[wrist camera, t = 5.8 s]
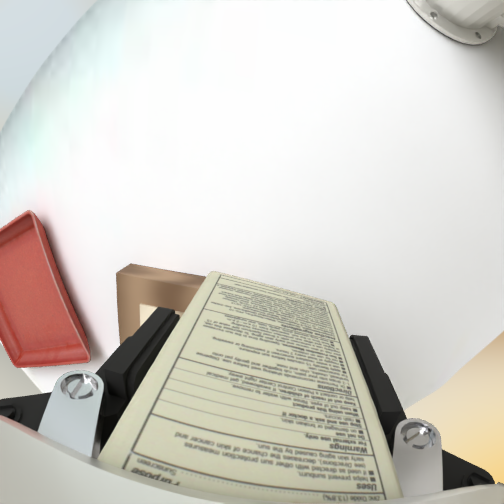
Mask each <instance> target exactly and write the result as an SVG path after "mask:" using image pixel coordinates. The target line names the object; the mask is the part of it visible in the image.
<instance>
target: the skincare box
mask: <svg viewBox="0 0 504 504" xmlns="http://www.w3.org/2000/svg"><path fill="white" fill-rule="evenodd" d="M97 460H100V461H102V462H105V463H107V464H110V465H112V466H115V467H118V468H121V469H123V470H126V471H129V472H132V473H135V474H138V475H141V476H145V477H148V478H151V479H155V480H158V481H162V482H165V483H169V484H173V485H177V486H181V487H185V488H189V489H194V490H199V491H203V492H208V493H214V494H219V495H225V496H231V497H238V498H245V499H254V500H263V501H274V502H288V503H356V502H370V501H380V500H389V499H397V498H404V496H403V492H402V489H401V486H400V483H399V479H398V475H397V472H396V468H395V465H394V462H393V459H392V456H391V453H390V450H389V447H388V444H387V441H386V438H385V434H384V432H383V429H382V426H381V424H380V421H379V418H378V414H377V411H376V408H375V405H374V403H373V400H372V398H371V395H370V392H369V389H368V387H367V384H366V382H365V379H364V376H363V374H362V371H361V368H360V366H359V363H358V361H357V358H356V355H355V353H354V350H353V348H352V345H351V342H350V340H349V337H348V335H347V332H346V330H345V327H344V325H343V323H342V320H341V317H340V315H339V312H338V310H337V308H336V306H335V304H334V303H332V302H329V301H325V300H321V299H318V298H314V297H311V296H308V295H304V294H300V293H297V292H293V291H290V290H286V289H282V288H278V287H275V286H271V285H267V284H263V283H260V282H256V281H252V280H248V279H244V278H240V277H236V276H232V275H228V274H224V273H220V272H216V271H211V272H210V273H209V274H208V276H207V277H206V279H205V280H204V282H203V283H202V285H201V286H200V288H199V290H198V291H197V293H196V294H195V296H194V298H193V299H192V301H191V303H190V304H189V306H188V307H187V309H186V310H185V312H184V314H183V315H182V317H181V318H180V320H179V322H178V323H177V325H176V326H175V328H174V329H173V331H172V333H171V334H170V336H169V338H168V339H167V341H166V342H165V344H164V346H163V347H162V349H161V351H160V352H159V354H158V356H157V358H156V359H155V361H154V363H153V364H152V366H151V367H150V369H149V371H148V372H147V374H146V376H145V377H144V379H143V381H142V383H141V384H140V386H139V388H138V389H137V391H136V393H135V394H134V396H133V398H132V400H131V401H130V403H129V405H128V406H127V408H126V410H125V411H124V413H123V415H122V416H121V418H120V420H119V421H118V423H117V425H116V427H115V429H114V431H113V432H112V434H111V436H110V438H109V439H108V441H107V443H106V444H105V446H104V448H103V449H102V451H101V453H100V455H99V456H98V458H97Z"/></svg>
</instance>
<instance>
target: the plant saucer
mask: <svg viewBox="0 0 504 504" xmlns="http://www.w3.org/2000/svg"><path fill="white" fill-rule="evenodd" d="M0 340H1V342H2V344H3V346H4V348H5V350H6V352H7V354H8V356H9V358H10V360H11V362H12V363H13V365H14V366H15V367H17V368H26V367H43V366H57V365H68V364H69V365H70V364H79V363H88V362H89V361H90V360H91V357H90V349H89V344H88V341H87V337H86V335H85V332H84V330H83V328H82V326H81V324H80V322H79V319H78V317H77V315H76V313H75V310H74V308H73V306H72V304H71V301H70V299H69V297H68V294H67V292H66V289H65V287H64V284H63V282H62V279H61V276H60V274H59V271H58V268H57V266H56V263H55V260H54V257H53V254H52V251H51V249H50V246H49V242H48V239H47V236H46V233H45V230H44V228H43V226H42V224H41V222H40V220H39V219H38V218H37V216H36V215H35V214H34V213H33V212H32V211H31V210H27V211H26V212H24V213H23V214H21V215H20V216H18V217H17V218H15V219H14V220H12V221H11V222H9V223H8V224H7V225H5V226H3V227H2V228H1V229H0Z"/></svg>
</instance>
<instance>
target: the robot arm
mask: <svg viewBox="0 0 504 504" xmlns="http://www.w3.org/2000/svg"><path fill="white" fill-rule="evenodd" d="M407 1H408V2H409V4H410V5H411V6H412V7H413V8H414V10H415V11H416V12H417V13H418V14H419V15H420V16H421V17H422V18H423V19H424V20H425V21H427V22H428V23H429V24H430V25H432V26H433V27H434V28H435V29H437V30H438V31H440V32H441V33H443V34H444V35H446V36H448V37H450V38H452V39H454V40H457V41H459V42H462V43H466V44H471V45H477V44H482V43H485V42H487V41H488V40H490V39H491V38H492V37H493V36H494V35H495V33H496V30H497V26H498V25H499V26H500V27H502V28H504V0H407ZM179 320H180V315H179V314H175V310H174V309H169V308H164V307H157V309H156V310H155V311H154V312H153V313H152V314H151V315H150V316H149V318H148V319H147V320H146V321H145V322H144V323H143V324H142V325H141V327H140V328H139V329H138V330H137V331H136V332H135V333H134V334H133V336H129V337H128V338H126V339H125V341H124V342H123V343H122V344H121V345H120V346H119V347H118V348H117V349H116V351H115V352H114V353H113V354H112V355H111V356H110V357H109V359H108V360H107V361H106V362H105V363H104V364H103V365H102V366H101V368H100V369H99V370H98V371H97V372H96V373H95V374H94V373H92V372H89V371H84V370H76V371H71V372H68V373H66V374H63V375H62V376H61V377H60V378H59V379H58V380H57V382H56V384H55V386H54V389H53V391H52V392H50V393H43V394H37V395H30V396H22V397H15V398H6V399H1V400H0V504H504V484H503V483H500V482H498V483H497V484H495V482H494V480H493V478H492V476H491V475H490V474H489V473H488V472H487V471H485V470H484V469H482V468H479V467H478V466H475V465H473V464H471V463H469V462H467V461H465V460H463V459H461V458H458V457H457V456H455V455H453V454H450V453H448V452H446V451H445V450H442V448H441V436H440V433H439V432H438V430H437V429H436V428H435V427H434V426H433V425H432V424H430V423H428V422H427V421H424V420H421V419H415V418H411V419H407V418H406V415H405V413H404V411H403V408H402V406H401V404H400V401H399V399H398V397H397V395H396V392H395V390H394V388H393V386H392V384H391V381H390V379H389V377H388V375H387V374H386V373H384V371H383V368H382V366H381V364H380V362H379V360H378V358H377V355H376V353H375V351H374V349H373V347H372V345H371V343H370V341H369V338H368V337H367V336H358V335H351V336H350V338H349V340H350V342H351V345H352V348H353V350H354V353H355V355H356V358H357V361H358V363H359V366H360V368H361V371H362V374H363V376H364V379H365V382H366V384H367V387H368V389H369V392H370V395H371V398H372V400H373V403H374V405H375V408H376V411H377V414H378V418H379V421H380V424H381V426H382V429H383V432H384V434H385V438H386V441H387V444H388V447H389V450H390V453H391V456H392V459H393V462H394V465H395V468H396V472H397V475H398V479H399V483H400V486H401V489H402V492H403V496H404V498H397V499H389V500H380V501H370V502H356V503H288V502H274V501H263V500H254V499H245V498H238V497H231V496H225V495H219V494H214V493H208V492H203V491H199V490H194V489H189V488H185V487H181V486H177V485H173V484H169V483H165V482H162V481H158V480H155V479H151V478H148V477H145V476H141V475H138V474H135V473H132V472H129V471H126V470H123V469H121V468H118V467H115V466H112V465H110V464H107V463H105V462H102V461H100V460H97V458H98V456H99V455H100V453H101V451H102V449H103V448H104V446H105V444H106V443H107V441H108V439H109V438H110V436H111V434H112V432H113V431H114V429H115V427H116V425H117V423H118V421H119V420H120V418H121V416H122V415H123V413H124V411H125V410H126V408H127V406H128V405H129V403H130V401H131V400H132V398H133V396H134V394H135V393H136V391H137V389H138V388H139V386H140V384H141V383H142V381H143V379H144V377H145V376H146V374H147V372H148V371H149V369H150V367H151V366H152V364H153V363H154V361H155V359H156V358H157V356H158V354H159V352H160V351H161V349H162V347H163V346H164V344H165V342H166V341H167V339H168V338H169V336H170V334H171V333H172V331H173V329H174V328H175V326H176V325H177V323H178V322H179Z"/></svg>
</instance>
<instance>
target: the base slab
mask: <svg viewBox="0 0 504 504" xmlns="http://www.w3.org/2000/svg"><path fill="white" fill-rule="evenodd" d="M205 279H206V277H205V276H199V275H193V274H187V273H181V272H175V271H169V270H163V269H158V268H152V267H146V266H141V265H135V264H129V265H128V266H126V267H125V268H123V269H122V270H120V271H119V272H117V273H116V282H117V307H118V323H119V336H120V345H121V344H122V343H123V342H124V341H125V339H126V338H128V337H129V336H133V334H134V333H135V332H136V331H137V330H138V329H139V328H140V327H141V325H142V324H143V323H144V322H145V321H146V320H147V319H148V318H149V316H150V315H151V314H152V313H153V312H154V311H155V310H156V309H157V307H164V308H169V309H174V310H175V314H179V315H180V318H181V317H182V315H183V314H184V312H185V310H186V309H187V307H188V306H189V304H190V303H191V301H192V299H193V298H194V296H195V294H196V293H197V291H198V290H199V288H200V286H201V285H202V283H203V282H204V280H205Z"/></svg>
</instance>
